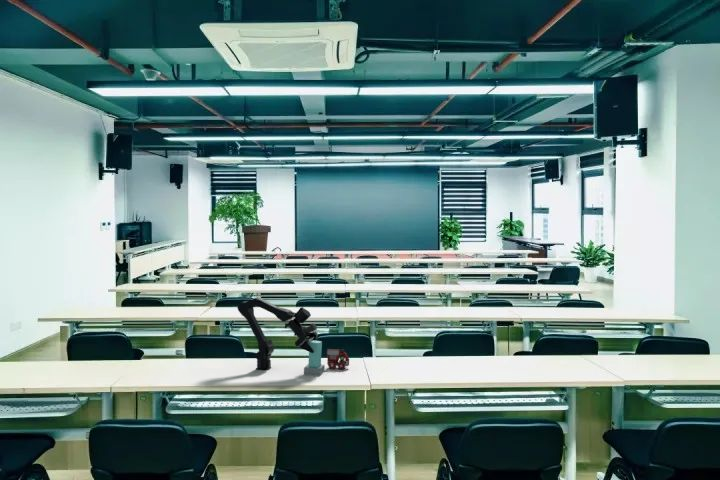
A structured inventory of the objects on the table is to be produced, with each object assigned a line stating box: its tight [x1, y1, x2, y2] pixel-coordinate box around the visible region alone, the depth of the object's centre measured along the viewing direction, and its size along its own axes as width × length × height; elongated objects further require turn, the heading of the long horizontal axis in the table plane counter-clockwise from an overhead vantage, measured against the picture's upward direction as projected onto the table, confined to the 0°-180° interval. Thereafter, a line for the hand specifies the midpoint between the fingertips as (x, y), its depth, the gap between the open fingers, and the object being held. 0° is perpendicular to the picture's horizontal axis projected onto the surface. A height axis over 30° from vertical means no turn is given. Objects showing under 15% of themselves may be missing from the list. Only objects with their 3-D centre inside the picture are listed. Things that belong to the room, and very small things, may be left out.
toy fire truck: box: [326, 348, 350, 371], centre depth 343 cm, size 7×12×10 cm, turn 82°
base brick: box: [303, 364, 326, 376], centre depth 331 cm, size 9×9×4 cm
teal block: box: [307, 340, 323, 368], centre depth 331 cm, size 5×5×13 cm
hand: (316, 351), depth 331 cm, fingers open, 9 cm apart
